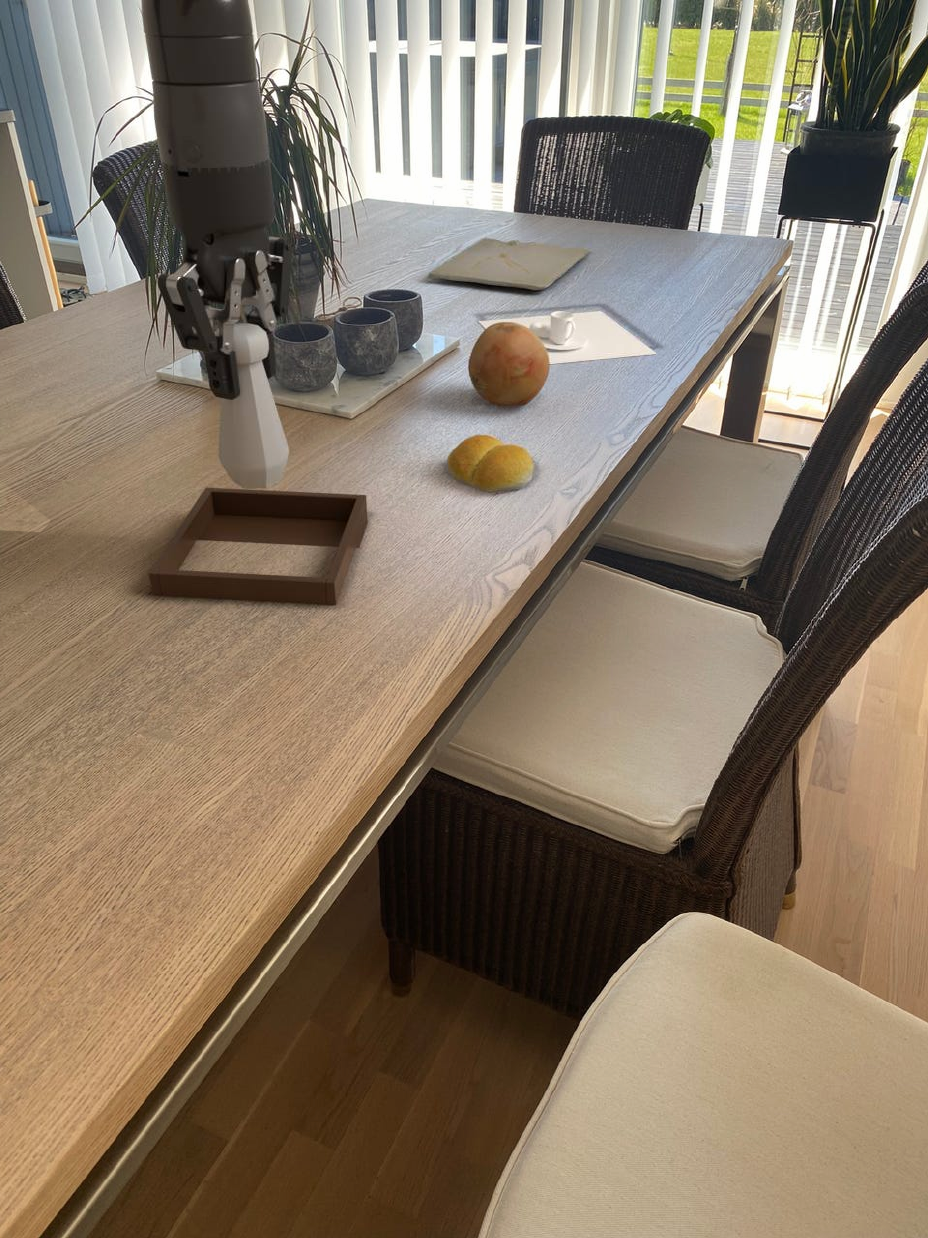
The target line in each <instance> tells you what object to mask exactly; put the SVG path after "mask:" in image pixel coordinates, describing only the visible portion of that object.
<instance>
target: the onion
mask: <svg viewBox="0 0 928 1238" xmlns="http://www.w3.org/2000/svg"><path fill="white" fill-rule="evenodd" d="M467 363H468V365H467V370H468V376H469V380H470V382H471V385H472V386H473V387H474V389H475V391H476V393H478V395H479V396H480V397H481V398H482V399H484V400H485V401H486V402H488V403H489V404H491V405H493V406H496V407H500V408H512V407H521V406H525V405H527V404H529V403H531V402H532V401H533V400H534V399H535V397H537V395H538V394H539V393H540V392H541V391H542V389H543V387H544V386H545V384H546V382H547V380H548V377H549V375H550V364H549V356H548V353H547V350H546V348H545V346H544V344H543V343H542V341H541V340H540V338H539V337H538V336H537V335H536V334H535V333H534V332H533V331H532V330H530V329H529V328H527V327H525V326H523V325H521V324H518V323H514V322H500V323H495V324H493V325H491V326H489V327H488V328H487V329H484V331H483V332H482V333H481V334H480V335H479V337H478V338H477V339H476V341H475V343H474V345H473V347H472V350H471V351H470V355H469V357H468V362H467Z"/></svg>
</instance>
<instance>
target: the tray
mask: <svg viewBox="0 0 928 1238" xmlns="http://www.w3.org/2000/svg"><path fill="white" fill-rule="evenodd" d="M367 504H368V503H367V495H366V494H351V493H332V492H313V491H311V492H310V491H291V490H290V491H287V490H270V489H269V490H266V489H265V490H264V489H244V488H226V487H225V488H222V487H205V488H204V490H203V491H202V492H201V494H200V496H199V497H198V498H197V499H196V501H195V503H194V504H193V506H192V507H191V509H190V511H189V512H188V513H187V515H186V516H185V518H184V520H183V521H182V523H181V524H180V526H179V527H178V529H177V530H176V531H175V532H174V535H173V536H172V537H171V539H170V541H168V543H167V545H166V546H165V547H164V549H163V551H162V553H161V554H160V555H159V556H158V558H157V560H156V561H155V562H154V564H153V566H152V567H151V569H150V570H149V572H148V578H149V583H150V588H151V593H152V596H153V597H170V598H171V597H172V598H190V599H208V600H209V599H210V600H226V601H227V600H228V601H245V602H262V603H263V602H264V603H266V602H267V603H282V604H283V603H284V604H300V605H301V604H302V605H320V606H321V605H322V606H337V605H338V602H339V599H340V596H341V593H342V590H343V587H344V585H345V582H346V579H347V576H348V573H349V570H350V567H351V564H352V562H353V558H354V556H355V552H356V550H357V549H360V547H361V544H362V542H363V539H364V535H365V532H366V529H367V527H368V524H369V519H368V505H367ZM197 541H208V542H227V543H229V542H230V543H247V544H265V545H266V544H267V545H268V544H269V545H288V546H309V547H327V548H328V547H329V548H337V550H336V552H335V555H334V558H333V560H332V564H331V566H330V569H329V571H328V574H327V577H318V576H317V577H316V576H300V575H281V574H280V575H279V574H263V573H262V574H261V573H260V574H259V573H245V572H244V573H241V572H222V571H205V570H204V571H202V570H183V569H180V568H181V566H182V565H183V563H184V562H185V560H186V559H187V557H188V555H189V554H190V552H191V551H192V548H193V547H194V546H195V544H196V543H197Z"/></svg>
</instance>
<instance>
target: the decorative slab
mask: <svg viewBox="0 0 928 1238" xmlns="http://www.w3.org/2000/svg"><path fill="white" fill-rule="evenodd" d="M588 254H589V249H587V248H581V247H579V248H578V247H567V246H565V247H563V246H558V245H553V244H552V245H551V244H546V243H540V242H533V241H532V242H531V241H530V242H529V241H528V242H521V241H520V240H517V239H516V240H515V239H513V240H512V239H511V240H509V241H503V240H499V239H495V238H489V237H484V238H482V239H481V240H480V241H478V242H476V243H474V244H473V245H471V246H470V247H467V248H466V249H464V250H463V251H462V252H460V253H458V254H457V255H455V256H453V257H452V258H451V259H449V260H448V261H446V262H444V263H442V264H440V265H438V266H437V267H435V268H434V269H433V270H432V271H430V272H429V274H428V277H429V278H430V279H442V280H448V281H456V282H469V283H477V284H482V285H483V284H484V285H490V286H499V287H500V286H501V287H508V288H509V287H510V288H520V289H528V290H531V291H542V290H545V289H547V288H548V287H550V285H553V284H554V283H555V281H556V280H558V279H559V278H561V277H562V276H563V275H564V274H566V273H567V271H568V270H570V269H571V268H573V266H574V265H575V264H577V263H578V262H579V261H580V260H581V259H584V258H585V256H586V255H588Z"/></svg>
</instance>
